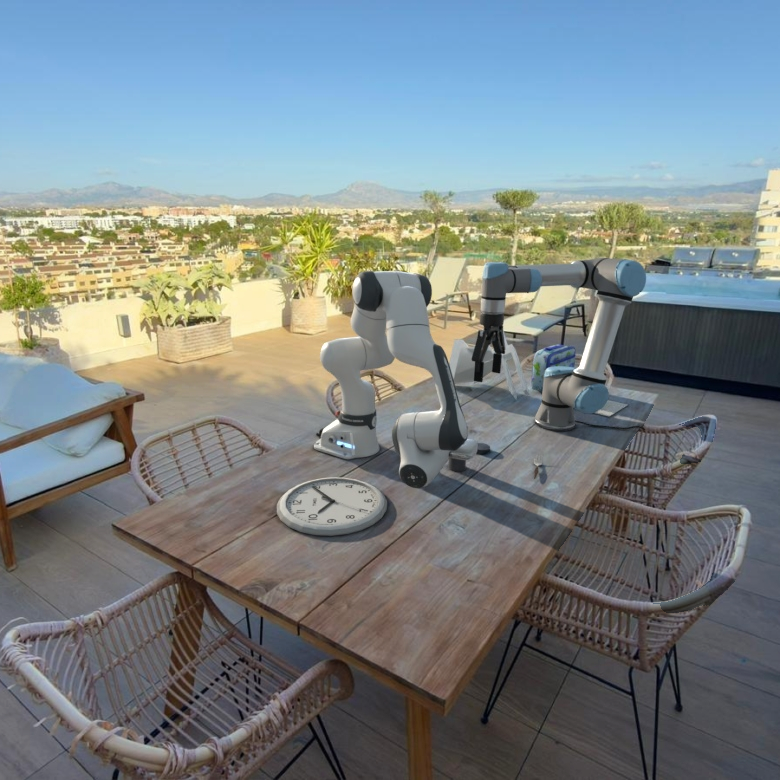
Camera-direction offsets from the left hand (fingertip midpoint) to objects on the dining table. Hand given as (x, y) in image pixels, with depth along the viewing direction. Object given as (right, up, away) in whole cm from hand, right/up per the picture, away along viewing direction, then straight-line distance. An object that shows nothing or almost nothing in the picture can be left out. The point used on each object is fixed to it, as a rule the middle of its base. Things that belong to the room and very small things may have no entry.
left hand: (448, 433), depth 151 cm
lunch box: (+60, +13, +99) cm, 116 cm away
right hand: (+15, +17, +21) cm, 31 cm away
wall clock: (-33, -19, -9) cm, 39 cm away
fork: (+30, -13, +14) cm, 35 cm away
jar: (+4, -12, +15) cm, 20 cm away
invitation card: (+75, +5, +75) cm, 106 cm away
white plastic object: (+25, +11, +92) cm, 96 cm away
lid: (+14, -7, +28) cm, 32 cm away
